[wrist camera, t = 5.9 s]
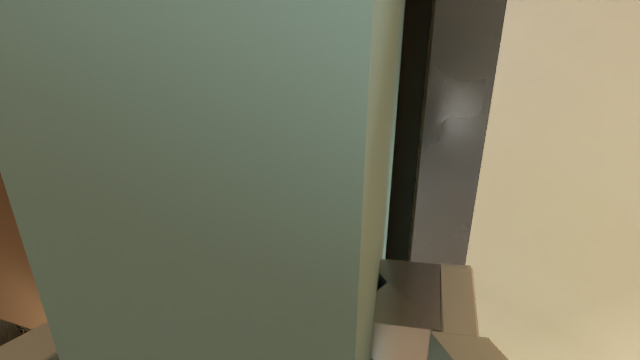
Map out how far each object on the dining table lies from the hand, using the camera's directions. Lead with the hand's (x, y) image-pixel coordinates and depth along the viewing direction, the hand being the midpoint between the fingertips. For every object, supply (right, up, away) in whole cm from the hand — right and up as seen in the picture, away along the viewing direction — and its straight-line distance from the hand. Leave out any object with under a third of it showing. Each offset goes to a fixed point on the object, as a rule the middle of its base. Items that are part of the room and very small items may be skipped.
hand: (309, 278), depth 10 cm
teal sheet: (+1, +2, +4) cm, 4 cm away
